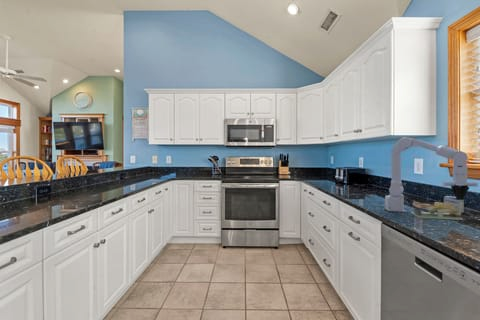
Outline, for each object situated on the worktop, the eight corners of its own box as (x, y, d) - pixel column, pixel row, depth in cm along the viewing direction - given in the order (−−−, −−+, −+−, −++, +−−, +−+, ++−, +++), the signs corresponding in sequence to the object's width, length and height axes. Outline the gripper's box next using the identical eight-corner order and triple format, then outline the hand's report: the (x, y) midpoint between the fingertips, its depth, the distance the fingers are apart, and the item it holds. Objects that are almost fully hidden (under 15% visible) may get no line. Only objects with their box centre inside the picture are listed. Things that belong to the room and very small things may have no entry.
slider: (437, 208, 133) (439, 203, 133) (433, 206, 138) (434, 201, 138) (451, 211, 131) (452, 205, 131) (446, 209, 136) (447, 204, 136)
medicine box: (443, 210, 148) (443, 196, 147) (447, 210, 150) (447, 195, 149) (460, 213, 141) (460, 198, 140) (463, 212, 143) (464, 197, 142)
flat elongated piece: (418, 208, 134) (419, 204, 134) (412, 205, 142) (413, 201, 142) (460, 215, 129) (461, 211, 128) (452, 211, 137) (452, 208, 137)
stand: (418, 217, 133) (418, 209, 133) (411, 213, 144) (411, 205, 143) (463, 220, 127) (463, 211, 127) (452, 214, 138) (452, 206, 138)
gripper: (447, 174, 130) (447, 200, 130) (481, 174, 126) (481, 201, 126) (440, 173, 137) (440, 198, 137) (473, 173, 133) (473, 199, 133)
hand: (459, 199), depth 132 cm, fingers closed
